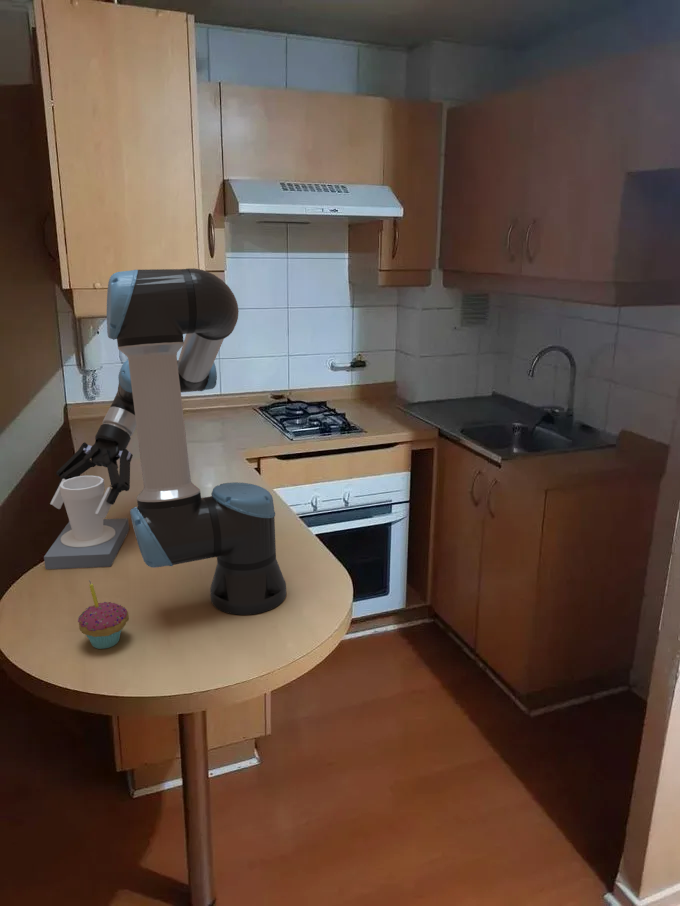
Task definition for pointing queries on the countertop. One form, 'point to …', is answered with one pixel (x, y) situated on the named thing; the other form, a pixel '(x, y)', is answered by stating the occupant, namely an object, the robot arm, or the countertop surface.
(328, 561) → the countertop surface
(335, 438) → the countertop surface
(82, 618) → the cupcake
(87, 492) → the foam cup
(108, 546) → the pedestal
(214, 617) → the countertop surface
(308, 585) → the countertop surface
